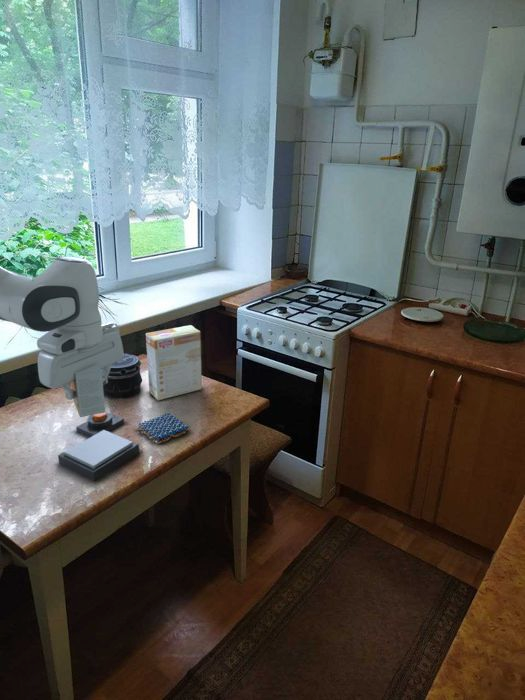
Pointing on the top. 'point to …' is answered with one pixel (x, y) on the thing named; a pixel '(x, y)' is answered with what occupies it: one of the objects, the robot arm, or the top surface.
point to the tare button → (99, 416)
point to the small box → (89, 391)
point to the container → (123, 377)
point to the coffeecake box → (174, 361)
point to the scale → (98, 455)
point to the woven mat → (163, 428)
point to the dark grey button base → (99, 425)
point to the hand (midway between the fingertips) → (87, 390)
